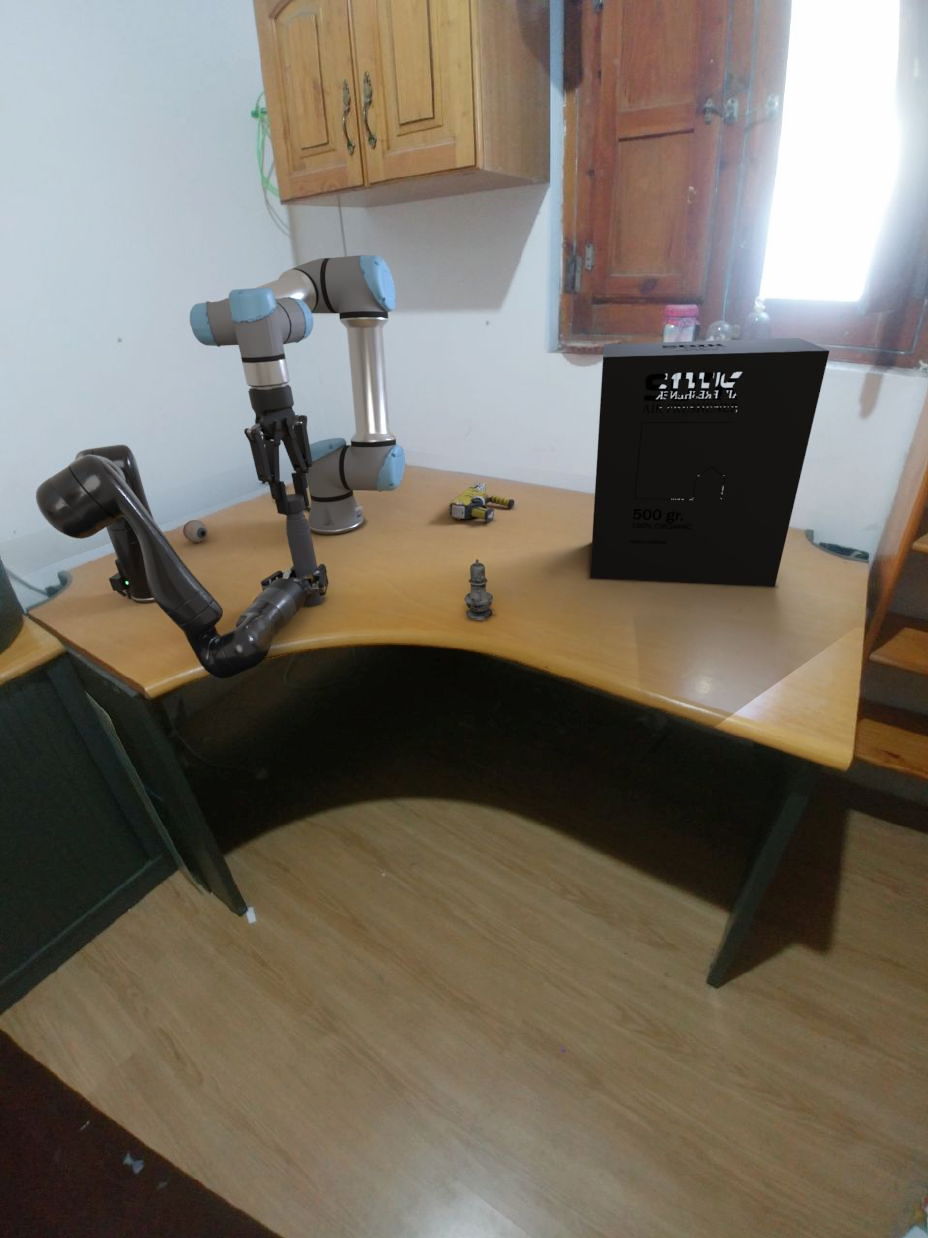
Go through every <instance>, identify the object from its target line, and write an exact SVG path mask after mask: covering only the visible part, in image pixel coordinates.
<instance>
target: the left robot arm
mask: <svg viewBox="0 0 928 1238" xmlns="http://www.w3.org/2000/svg"><path fill="white" fill-rule="evenodd" d="M140 474H141V473H140V469H139V466H138V462H137V460H136V457H135V454H134V453H133V451H132V449H131V448H130V447H129V446H128V445H126V444H114V445H113V444H112V445H107V446H100V447H93V448H87V449H83V450H80V451H79V452H77V453H76V455H75V457H74V460H73V461H71V462H70V463H69V464H68V465H67V467H65V468H63V469H62V470H60V471H58V472H57V473H56V474H54V475H52V476H51V477H49V478H47V479H45V480H44V481H43V482H42V483H40V485H39V486H37V489H36V492H35V500H36V505H37V507H38V509H39V511H40V513H41V514H42V516H43V517H44V519H45V520H46V521H47V522H48V523H49V524H50V525H51V527H53V528H54V529H55V530H56V531H57V532H60V533H61V534H63V535H65V536H68V537H70V538H74V539H81V540H82V539H88V538H90V537H92V536H94V535H96V534H97V533H99V532H100V531H102V530H103V529H106V531H107V535H108V536H109V539H110V542H111V544H112V548H113V550H114V552H115V556H116V559H114V564H115V567H116V569H117V572H116V573H114V574H113V575H112V576H111V577H108V582H109V583H110V586H111V589H112V591H113V592H116V593H118V594H119V595H121V596H122V597H123V598H125V597H127V598H128V600H132V601H133V602H134V603H137V604H150V603H154V602H155V603H156V604H157V606H158V607H159V609H161V610H162V611H163V613H165V615H167V617H168V618H169V619H170V620H171V621H172V622H173V623H174V624H175V625H176V626H177V627H178V628H179V629H180V630H181V631H182V632H183V634H184V636H185V638H186V640H187V642H188V644H189V646H190V647H191V650H192V652H193V653H194V655H195V657H196V658H197V660H198V663H199V664H200V666H201V667H202V668H203V669H204V670H205V671H206V672H207V673H208V674H210V675H211V676H213V677H216V678H218V679H229V678H231V677H234V676H236V675H239V674H241V673H244V672H246V671H248V670H250V669H253V668H255V667H256V666H258V665H260V663H262V662H263V661H264V660H265V658H267V656H268V654H269V652H270V650H271V647H272V644H273V641H274V639H275V638H276V637H277V635H278V634H279V633H280V632H281V631H282V630H283V629H284V628H285V627H286V626H288V625H289V623H290V622H291V621H292V620H293V619H294V617H295V616H296V615H297V614H298V612H300V610H301V609H302V607H303V606H304V605H303V604H304V602H305V599H306V598H307V597H308V596H310V595H311V594H312V593H317V592H318V593H319V594H320V596H323V597H324V596H326V594H327V591H328V587H329V579H328V571H327V566H326V565H325V563H320V564H319V565H317V569H316V570H315V571H314V572H312V573H311V574H309V573H307V574H305V575H303V576H301V577H300V578H296V575H295V571H294V566H293V565H292V566H291V567H290V568H289V569H286V570H285V571H284V572H283V571H282V570H277V571H274V572H273V573H272V574H270V575H269V576H267V577H265V578H264V579H263V580H261V581H260V585H261V590H262V591H261V592H260V593H259V594H258V595H257V597H255V598H254V600H253V601H252V603H251V604H250V605H249V606H248V607H247V608H246V609H245V610H244V611H243V612H242V614H240V616H239V617H238V619H237V621H236V624H235V628H234V629H232V630H230V631H228V632H226V633H224V634H222V635H221V634H220V633H219V631H218V630H217V629H218V628H217V627H216V625H217V624H218V623H219V622H220V620H221V619H222V617H223V614H224V612H223V611H224V609H223V607H222V606H221V605H220V604H219V602H218V601H217V599H216V598H214V596H213V595H212V594H211V593H210V592H209V591H208V589H207V588H206V587H205V586H204V585H203V584H202V582H201V581H200V580H199V579H197V577H196V576H195V575H194V574H193V572H191V570H190V569H189V568H188V566H187V565H186V564H185V562H184V561H183V560H182V559H181V557H180V556H179V554H178V553H177V551H176V549H174V547H173V545H172V544H171V542H170V541H169V539H168V538H167V537H166V535H165V534H164V532H163V531H162V529H161V528H160V527H159V526H158V524H157V523H156V521H155V519H154V516H153V514H152V510H151V508H150V504H149V501H148V499H147V496H146V492H145V489H144V485H143V481H142V478H141V475H140ZM314 577H315V581H314ZM124 591H125V592H124Z"/></svg>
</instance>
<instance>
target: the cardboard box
mask: <svg viewBox="0 0 928 1238" xmlns="http://www.w3.org/2000/svg"><path fill="white" fill-rule="evenodd" d="M829 356H830V350H829V349H827V348H824V347H822V346H819V345H817V344H815V343H813V342H809V341H808V340H804V339H802V338H799V337H787V338H786V337H785V338H756V339H755V338H753V339H751V338H750V339H724V340H691V341H689V340H688V341H661V342H631V343H604V344H603V353H602V368H601V385H600V386H601V387H600V399H599V400H600V402H599V416H598V417H599V419H598V434H597V436H598V437H597V452H596V467H595V468H596V470H595V487H594V502H593V503H594V504H593V521H592V535H591V536H592V538H591V554H590V569H589V571H590V572H589V578H590V579H600V580H625V581H647V582H665V583H666V582H667V583H668V582H669V583H688V584H689V583H691V584H692V583H693V584H714V585H735V586H755V587H756V586H757V587H759V586H760V587H776V583H777V579H778V575H779V572H780V571H779V570H780V566H781V562H782V557H783V553H784V549H785V545H786V541H787V536H788V532H789V528H790V523H791V519H792V514H793V510H794V506H795V502H796V497H797V493H798V489H799V485H800V480H801V475H802V473H803V472H802V471H803V467H804V464H805V457H806V454H807V449H808V446H809V441H810V437H811V433H812V428H813V425H814V419H815V415H816V411H817V407H818V403H819V398H820V395H821V390H822V385H823V381H824V376H825V373H826V368H827V363H828V360H829ZM735 373H740V374H739V376H738V377H733V375H734V374H735ZM676 374H680V378H678V381H677V387H674V386H675V385H674V384H675V378H673V377H674V375H676ZM687 374H692V378H691V384H694V385H693V387H689V385H690V378H687ZM701 374H703V378H700V376H701ZM718 374H719V378H718ZM722 377H723V382H722ZM717 379H718V383H717ZM722 383H723V384H727V383H729V384H731V383H733V384H732V387H731V386H730V387H726V386H725V387H724V386H723V385H722ZM703 384H708V387H702V385H703ZM662 386H665V387H664V388H663V387H662ZM661 387H662V388H661Z"/></svg>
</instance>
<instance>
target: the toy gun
mask: <svg viewBox="0 0 928 1238" xmlns="http://www.w3.org/2000/svg"><path fill="white" fill-rule="evenodd" d="M486 491H487V484H486V483H485V482H480V481H477V482H475V483H474V484H473V485H472V486H469V487H468V488H467V489H466V490H465V491H463V492H462V493H461V494H459V496H457V497H456V498H455V499H453V500H452V501H451V502H450V503H449V505H448V506H449V507H448V516H450V518H453V519H454V520H456V519H457V520H459V521H460V520H461V519H462V520H469V519H473V518H478V519H482V520H484V523H489V522H490V521H492V520H494V516H495V515H494V514H495V507H492V506H491V507H489V508H488V506H487V505H488V504H490V503H491V504H495V505H498V506H503V507H506V508H509V509H512V508H514V506H515V500H514V499H513V498H507V497H503V496H499V495H495V494H492V495H491V496H490V497H489V495H488V493H487V492H486Z"/></svg>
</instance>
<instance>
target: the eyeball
mask: <svg viewBox="0 0 928 1238" xmlns="http://www.w3.org/2000/svg"><path fill="white" fill-rule="evenodd" d="M182 534H183V537H185V539H186V540H187V541H188V542H191V543H195V544H196V543H197V544H198V543H201V542H203V541H204V540H205V539H206V538H207V536H208V527H207V525H206V524H205V523H203V522H202V521H200V520H197V519H193V520H189V521H187V522H186V523H185V524H184V525H183V528H182Z"/></svg>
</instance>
